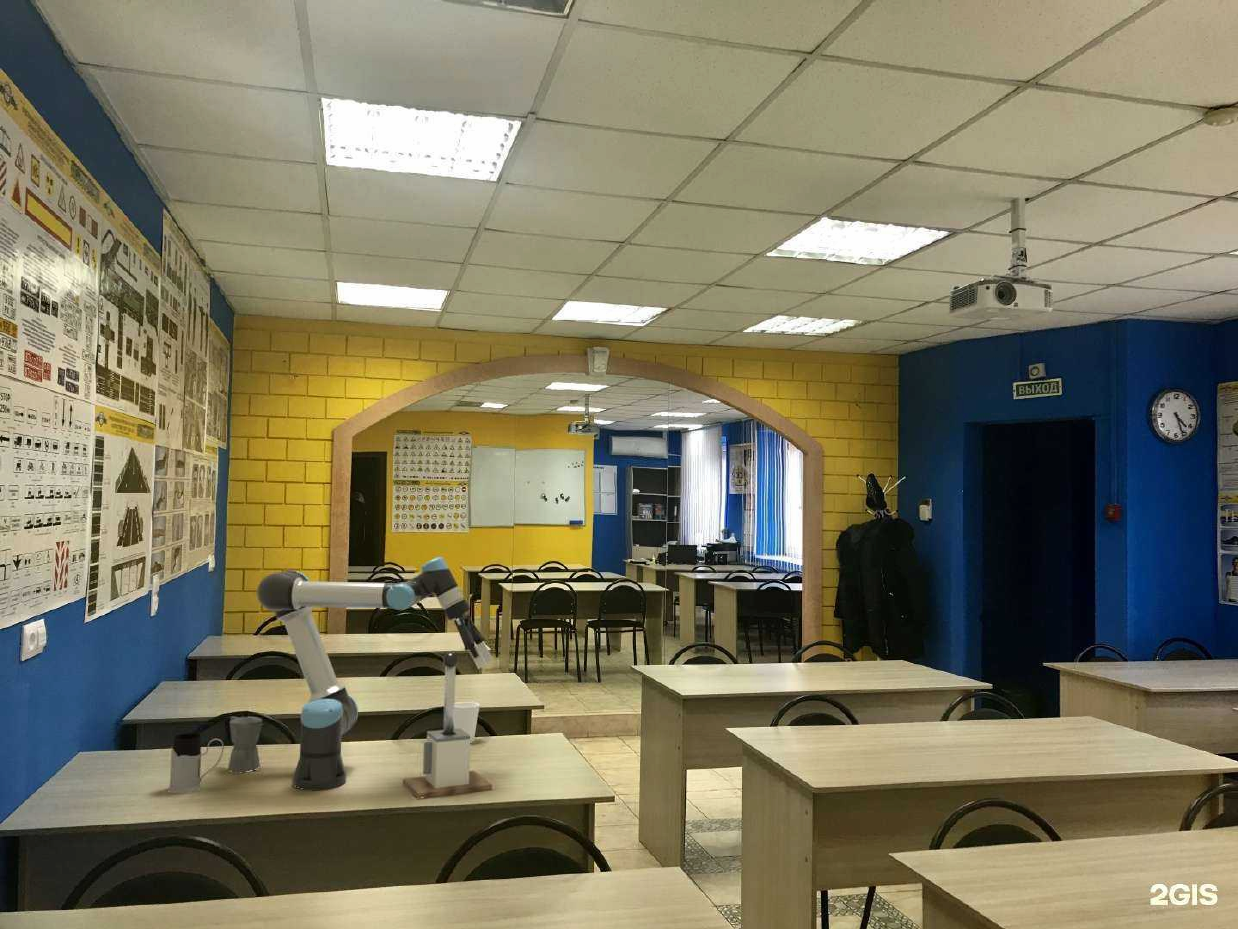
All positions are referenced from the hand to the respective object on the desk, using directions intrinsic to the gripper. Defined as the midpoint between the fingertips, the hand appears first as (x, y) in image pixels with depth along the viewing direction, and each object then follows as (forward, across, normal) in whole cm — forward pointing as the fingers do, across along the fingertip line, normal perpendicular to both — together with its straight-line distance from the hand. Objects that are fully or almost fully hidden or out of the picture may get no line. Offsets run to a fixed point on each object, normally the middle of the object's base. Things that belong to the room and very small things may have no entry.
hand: (485, 664), depth 287 cm
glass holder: (-10, -20, +86) cm, 89 cm away
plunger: (+14, -13, +18) cm, 26 cm away
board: (+26, -12, +24) cm, 37 cm away
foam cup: (+21, +41, +27) cm, 54 cm away
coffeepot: (-8, +1, +82) cm, 83 cm away
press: (+24, -13, +25) cm, 36 cm away
